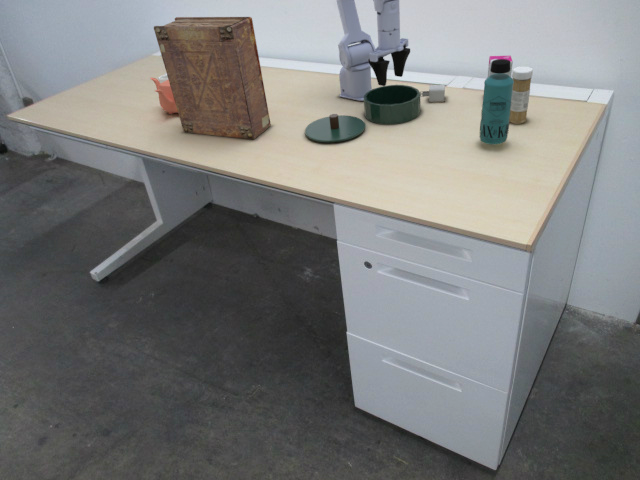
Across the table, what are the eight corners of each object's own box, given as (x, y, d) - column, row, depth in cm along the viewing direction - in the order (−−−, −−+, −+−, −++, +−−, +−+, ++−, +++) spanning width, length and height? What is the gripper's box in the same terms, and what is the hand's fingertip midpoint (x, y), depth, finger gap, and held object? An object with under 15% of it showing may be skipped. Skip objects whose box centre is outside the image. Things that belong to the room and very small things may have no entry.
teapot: (208, 111, 163) (200, 77, 157) (164, 122, 160) (153, 88, 154) (201, 97, 175) (192, 65, 168) (159, 108, 172) (149, 75, 165)
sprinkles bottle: (517, 115, 135) (523, 64, 127) (530, 121, 131) (537, 68, 123) (503, 120, 133) (508, 68, 125) (516, 126, 130) (522, 73, 122)
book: (183, 132, 152) (152, 26, 135) (201, 119, 159) (174, 17, 141) (254, 140, 141) (231, 26, 124) (271, 126, 148) (251, 16, 130)
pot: (399, 128, 137) (398, 109, 133) (354, 118, 146) (352, 99, 143) (430, 108, 145) (430, 89, 142) (386, 99, 154) (385, 81, 151)
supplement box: (508, 102, 142) (513, 61, 135) (486, 103, 143) (489, 62, 136) (506, 95, 146) (510, 54, 140) (485, 96, 148) (488, 55, 141)
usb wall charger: (444, 102, 147) (444, 88, 145) (419, 103, 149) (419, 89, 147) (444, 97, 151) (444, 83, 148) (420, 98, 152) (420, 84, 150)
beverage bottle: (474, 140, 126) (480, 58, 114) (501, 137, 126) (509, 54, 114) (484, 152, 120) (490, 67, 109) (512, 148, 120) (521, 63, 109)
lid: (338, 149, 131) (337, 133, 128) (293, 136, 140) (290, 121, 138) (377, 125, 140) (376, 109, 137) (332, 115, 149) (330, 100, 147)
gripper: (384, 37, 126) (386, 91, 134) (417, 22, 134) (417, 74, 142) (361, 35, 130) (365, 87, 138) (395, 20, 138) (397, 70, 146)
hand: (390, 80), depth 140 cm, fingers open, 7 cm apart
